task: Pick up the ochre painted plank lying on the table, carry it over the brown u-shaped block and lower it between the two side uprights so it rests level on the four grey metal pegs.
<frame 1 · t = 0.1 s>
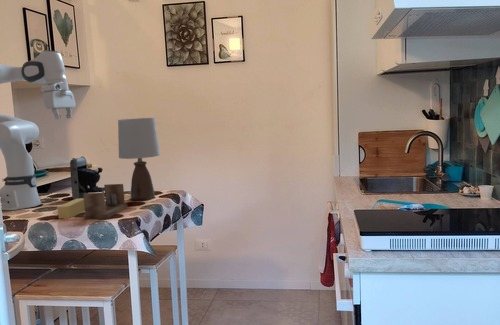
hand: (63, 118, 206), 39 cm above the table, fingers open, 8 cm apart
plank: (73, 214, 192), on the table
lamp: (142, 197, 219), on the table
brown u-shaped block: (106, 212, 190), on the table
vintage camera: (92, 197, 226), on the table
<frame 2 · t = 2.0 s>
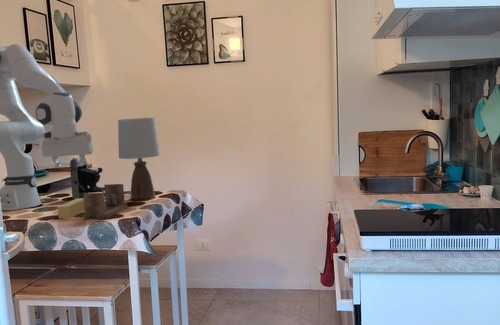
hand: (69, 166, 189), 20 cm above the table, fingers open, 8 cm apart
nothing on the table moved.
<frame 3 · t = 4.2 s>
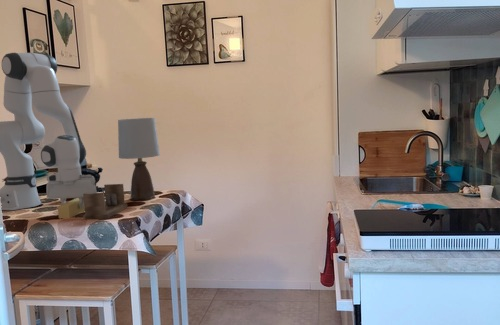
hand: (73, 208, 192), 2 cm above the table, fingers closed on plank, 4 cm apart
plank: (74, 213, 192), on the table, touching gripper
everything else where it was.
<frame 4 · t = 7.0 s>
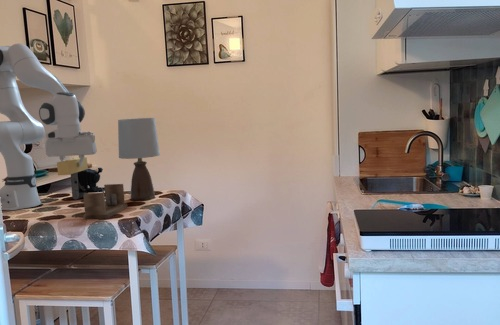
hand: (73, 166, 189), 19 cm above the table, fingers closed on plank, 4 cm apart
plank: (73, 171, 189), point 17 cm above the table, touching gripper
everything else where it was.
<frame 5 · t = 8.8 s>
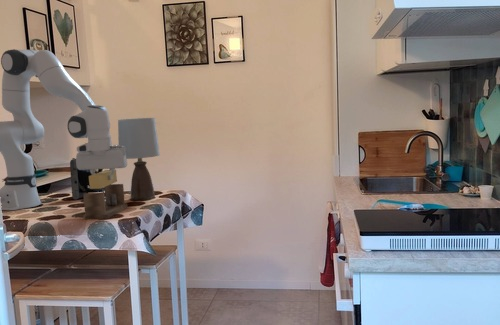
hand: (103, 179, 189), 14 cm above the table, fingers closed on plank, 4 cm apart
plank: (104, 185, 189), point 11 cm above the table, touching gripper
everything else where it was.
when the fingers open (10 cm above the table, at t = 10.0 s): plank drops 1 cm, resting on brown u-shaped block.
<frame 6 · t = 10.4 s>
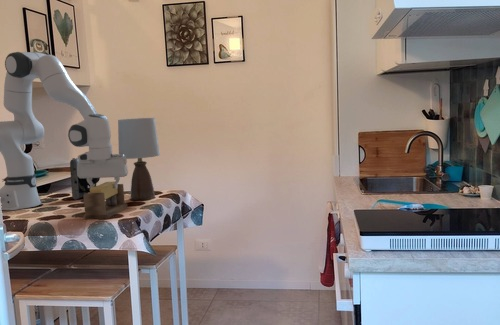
hand: (104, 188, 189), 10 cm above the table, fingers open, 8 cm apart
plank: (104, 197, 190), point 6 cm above the table, touching brown u-shaped block
everything else where it was.
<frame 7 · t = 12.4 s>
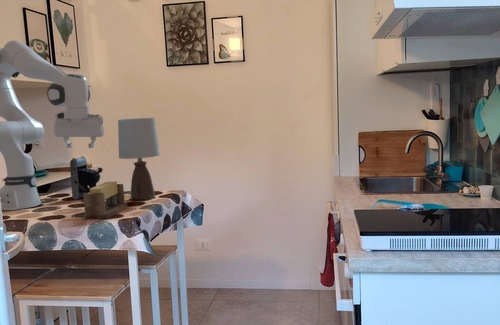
hand: (80, 147, 193), 27 cm above the table, fingers open, 8 cm apart
nothing on the table moved.
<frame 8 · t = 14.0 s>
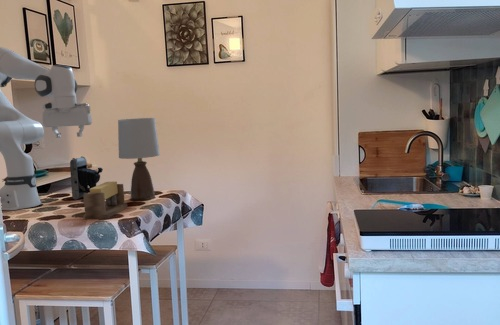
hand: (69, 137, 196), 31 cm above the table, fingers open, 8 cm apart
nothing on the table moved.
at the end: plank 0.1 cm off-centre on the brown u-shaped block, point 6.5 cm above the brown u-shaped block's base; plank tilted 0°; the gripper is holding nothing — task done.
